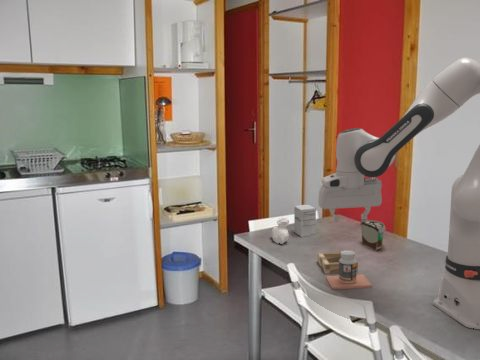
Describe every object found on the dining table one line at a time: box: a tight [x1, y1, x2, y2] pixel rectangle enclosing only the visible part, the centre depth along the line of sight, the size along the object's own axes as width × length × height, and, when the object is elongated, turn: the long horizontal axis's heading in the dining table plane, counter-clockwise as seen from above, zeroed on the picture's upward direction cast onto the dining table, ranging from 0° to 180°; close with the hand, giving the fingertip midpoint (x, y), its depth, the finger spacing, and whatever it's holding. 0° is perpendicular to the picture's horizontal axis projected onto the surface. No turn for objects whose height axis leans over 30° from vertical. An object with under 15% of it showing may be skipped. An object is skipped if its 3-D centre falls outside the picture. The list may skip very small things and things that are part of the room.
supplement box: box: [293, 204, 317, 238], centre depth 209 cm, size 7×7×13 cm
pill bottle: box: [338, 250, 358, 283], centre depth 157 cm, size 6×6×10 cm
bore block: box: [317, 251, 359, 275], centre depth 172 cm, size 12×12×4 cm
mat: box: [325, 273, 373, 290], centre depth 158 cm, size 9×13×1 cm
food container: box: [360, 219, 386, 252], centre depth 191 cm, size 12×6×10 cm, turn 22°
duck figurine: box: [270, 217, 290, 245], centre depth 201 cm, size 12×8×11 cm
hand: (349, 220), depth 154 cm, fingers open, 8 cm apart
